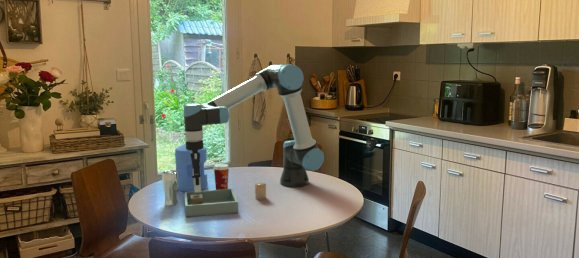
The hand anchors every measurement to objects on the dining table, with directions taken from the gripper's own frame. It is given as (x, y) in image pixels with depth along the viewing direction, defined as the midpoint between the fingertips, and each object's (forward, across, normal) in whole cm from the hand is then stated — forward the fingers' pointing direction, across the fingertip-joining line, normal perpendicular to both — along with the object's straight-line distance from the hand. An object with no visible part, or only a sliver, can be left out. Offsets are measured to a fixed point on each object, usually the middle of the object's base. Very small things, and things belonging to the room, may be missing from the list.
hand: (197, 187), depth 196 cm
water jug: (+10, -32, -2) cm, 34 cm away
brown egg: (+10, -7, +29) cm, 32 cm away
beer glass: (+10, -9, -12) cm, 18 cm away
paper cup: (+10, -20, +12) cm, 26 cm away
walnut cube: (+9, 0, -1) cm, 9 cm away
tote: (+10, 0, +5) cm, 11 cm away
